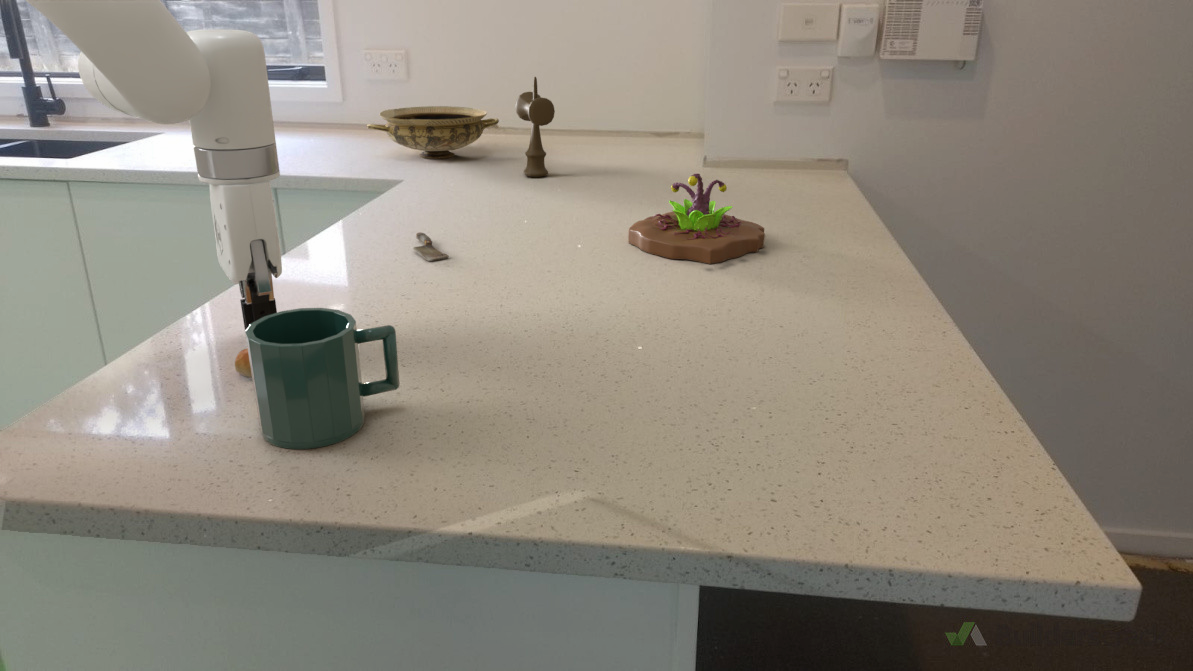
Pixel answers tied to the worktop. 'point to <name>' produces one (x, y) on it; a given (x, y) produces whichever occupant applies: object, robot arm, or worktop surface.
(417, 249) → the meat cleaver
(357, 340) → the mug
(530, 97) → the kendama
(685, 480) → the worktop surface
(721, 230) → the plant
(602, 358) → the worktop surface
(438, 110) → the ceramic bowl
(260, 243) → the robot arm
